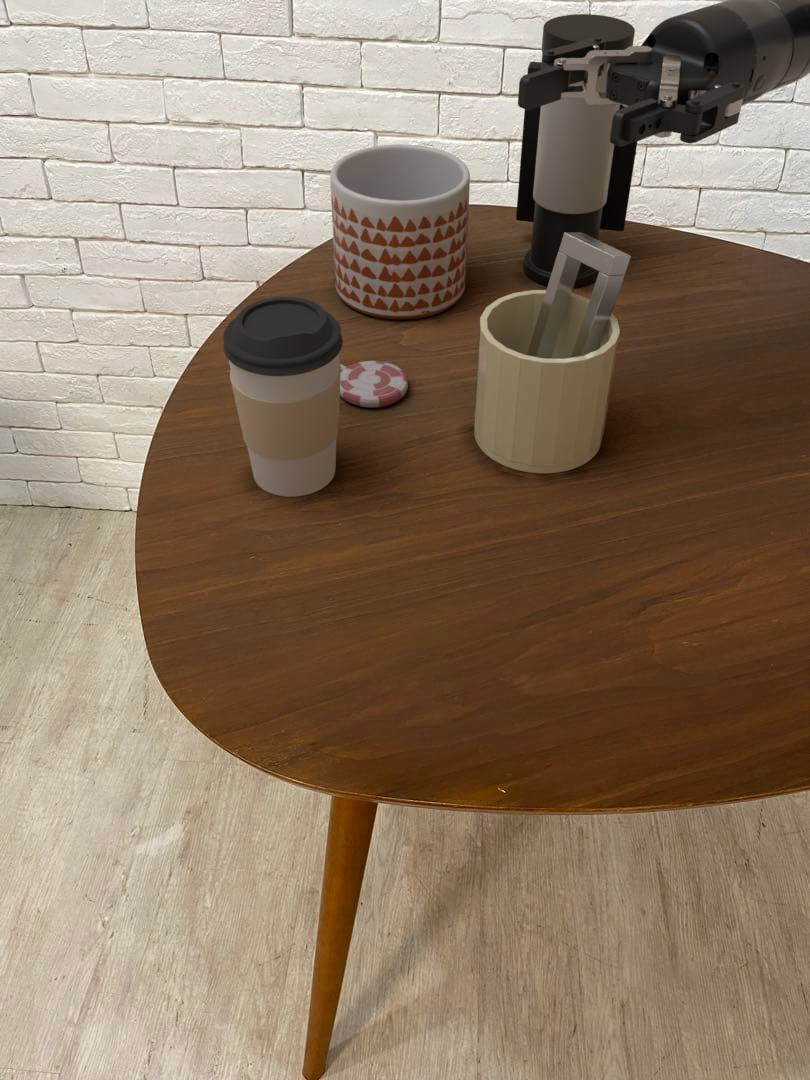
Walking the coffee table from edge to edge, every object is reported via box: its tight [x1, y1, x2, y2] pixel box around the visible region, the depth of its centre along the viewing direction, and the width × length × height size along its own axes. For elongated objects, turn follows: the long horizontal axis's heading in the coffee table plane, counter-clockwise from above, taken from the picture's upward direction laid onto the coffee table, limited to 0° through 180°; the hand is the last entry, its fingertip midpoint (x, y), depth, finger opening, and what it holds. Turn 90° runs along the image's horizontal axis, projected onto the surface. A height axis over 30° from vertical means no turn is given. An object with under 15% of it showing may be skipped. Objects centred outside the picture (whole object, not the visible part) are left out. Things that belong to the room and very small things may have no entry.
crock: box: [473, 289, 621, 474], centre depth 89 cm, size 11×11×11 cm
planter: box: [329, 143, 471, 321], centre depth 107 cm, size 14×14×13 cm
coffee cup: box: [222, 296, 344, 498], centre depth 83 cm, size 9×9×15 cm
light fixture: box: [515, 13, 639, 289], centre depth 107 cm, size 12×11×25 cm
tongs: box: [527, 232, 632, 359], centre depth 88 cm, size 7×2×16 cm, turn 40°
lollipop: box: [339, 360, 409, 409], centre depth 99 cm, size 7×1×15 cm
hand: (567, 111), depth 70 cm, fingers open, 8 cm apart
